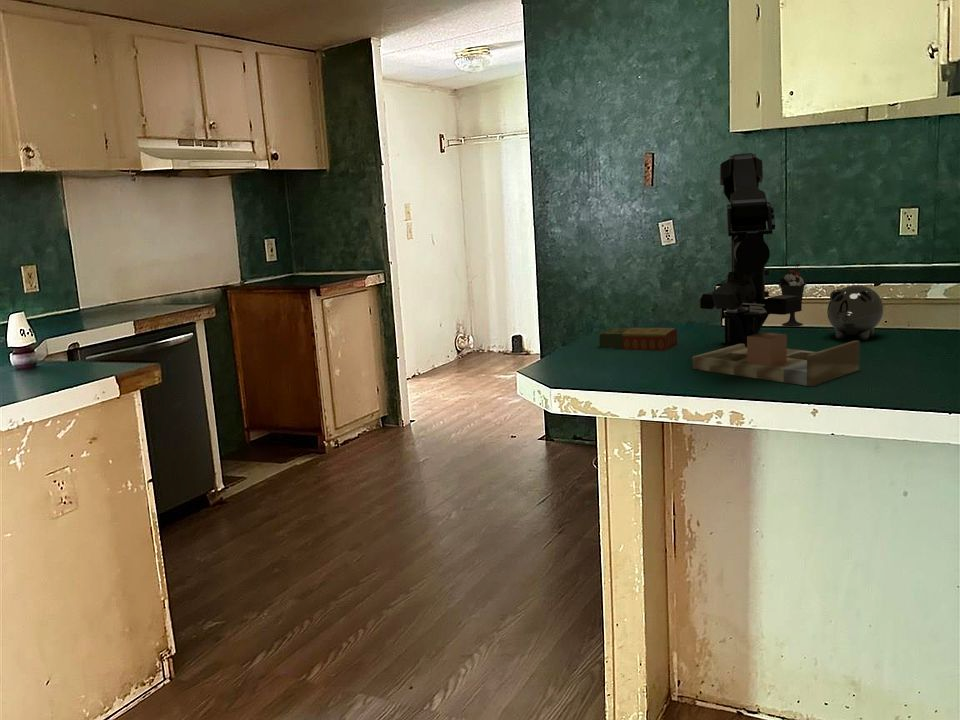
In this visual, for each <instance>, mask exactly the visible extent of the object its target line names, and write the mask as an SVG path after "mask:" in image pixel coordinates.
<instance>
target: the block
mask: <svg viewBox="0 0 960 720" xmlns="http://www.w3.org/2000/svg"><path fill="white" fill-rule="evenodd" d="M787 338H788V336H787V334H784V333H773V332H765V331H762V332H759V333H758V334H754V335H751V336H747V363H753V364H761V365H768V366H772V365H775V364H779V363H782V362H785V361H787V349H788V347H787V346H788V344H787V343H788V342H787V341H788V339H787Z"/></svg>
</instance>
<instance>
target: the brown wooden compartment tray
mask: <svg viewBox="0 0 960 720" xmlns="http://www.w3.org/2000/svg"><path fill="white" fill-rule="evenodd" d="M860 345H861V341H860V340H856V339H855V340H851V341H849V342H846V343H844V342H843V343H841V344H839V345H836V346H835V345H834V346H832V347H829V348H826V349H822V350H820V351H811V350H801V349H795V348H794V349H793V348H787V361H785V362H782V363H779V364H775V365H772V366H768V365H761V364H753V363H747V348H746V347H745V344H737V345H733V346H730V345H729V346H727V347H723V348H718V349H715V350H712V351H708V352H704V353H701V354H700V353H699V354H698V355H692V370H697V369H698V370H697V371H704V372H712V373H718V374H724V375H732V376H738V377H746V378H753V379H758V380H759V379H760V380H767V381H772V382H778V383H779V382H780V383H784V384H785V383H786V384H793V385H798V386H799V385H800V386H807V387H815V386H817V385H820V384H823V382H824V383H827V382H830V381H832V380H835V379H837V378H840V377H844V376H847V375H849V374H852V373H855V372H857V371H860V351H861V350H860V347H861V346H860Z"/></svg>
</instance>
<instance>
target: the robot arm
mask: <svg viewBox="0 0 960 720" xmlns="http://www.w3.org/2000/svg"><path fill="white" fill-rule="evenodd" d="M719 166H720V167H719V185H720V186H723V187H722V192H723V193H724V195H725V197H726V199H727V201H728V202H729V204H727V205H726V224H727V226H726V227H727V228H726V229H727V237H730V258H731V259H730V263H731V265H730V269H731V270H730V271H728V274H727V276H726V279H725V280H724V283H722V284H721V285H719V286H718V287H716V289H714V290H713V291H711V292H707V293H702V295H701V297H700V299H699V309H701V310H702V309H703V310H713V309H716V310H720V318H721V319H723V320H724V341H721V342H720V345H722V346H723V345H724V346H729V347H730V346H733V345H737V344H745V347H746V348H747V336H751V335H754V334H758V333H760V332H761V328H762V326H763V325H764V323H765V322H766V320H767V318H768V317H769V316H770V315H782V316H784V315H790V313H794V312H795V313H798V312H802V310H803V309H802V307H803V306H802V302H803V301H802V302H801V300H800V299H799V297H798V296H790V295H782V294H780V295H775V296H770V291H766V290H765V289H766V276H770V269H766V264H767V263H768V262H769V260H770V256H771V252H770V247H769V246H768V244H767V242H766V239H764V238H765V237H764V236H765V235H773V230H776V220H775V219H776V218H775V209H774V207H773V206H772V203H771V201H768V199H767V196H766V192H765V191H763V190H761V189H760V188H759V185H760V183H762V182H763V178H764V177H763V176H764V175H763V174H764V172H763V171H764V170H763V168H764V167H763V160H762V159H760V158H758V157H757V154H756V153H753V152H749V153H746V152H745V153H737V154H735V153H734V154H733V155H729V159H727V160H725V161H723V162H721V163H720V165H719Z"/></svg>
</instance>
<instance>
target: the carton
mask: <svg viewBox="0 0 960 720" xmlns="http://www.w3.org/2000/svg"><path fill="white" fill-rule="evenodd" d="M598 341H599V342H598V343H599V349H600V348H614V349H613V350H624V351H625V350H627V351H628V350H631V351H633V350H634V351H659V352H660V351H661V352H667V351H669V350H670V349H672V348H673V347H675V346H676V345H677V346H678V329H677V328H676V327H616V326H615V327H614V326H612V327H610V328H608V329H606V330H604V331H601V332H600V333H599V340H598Z"/></svg>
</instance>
